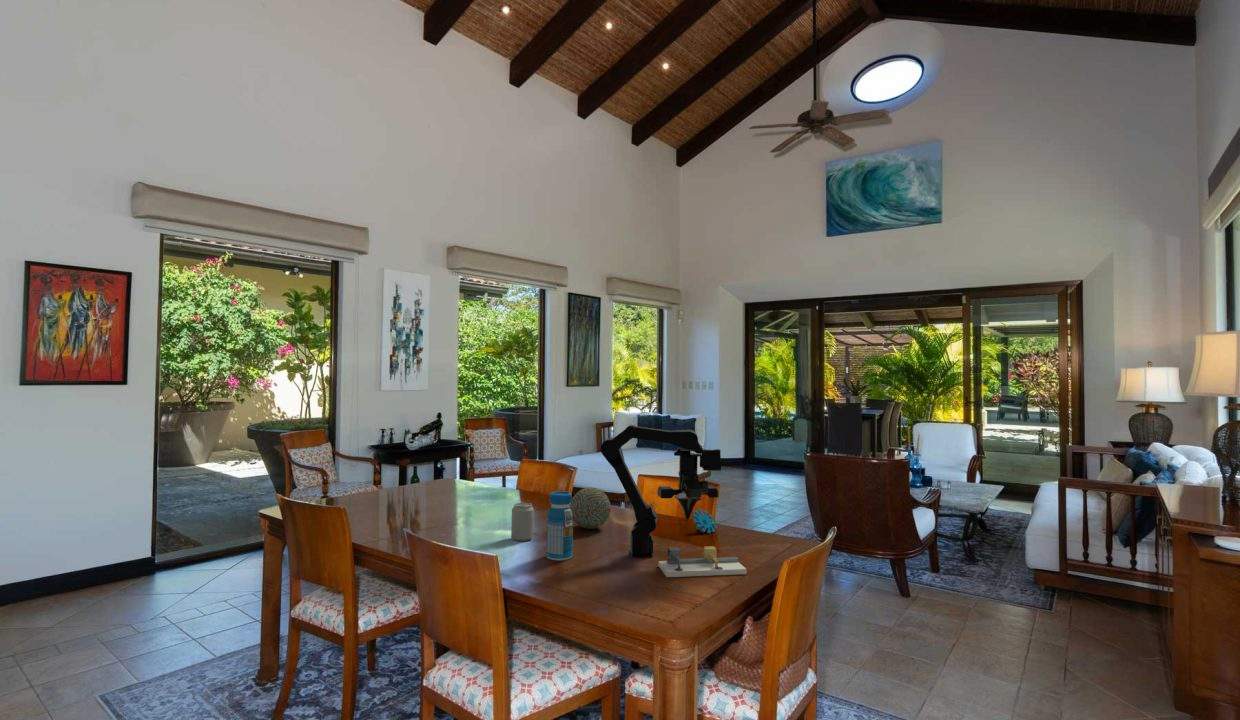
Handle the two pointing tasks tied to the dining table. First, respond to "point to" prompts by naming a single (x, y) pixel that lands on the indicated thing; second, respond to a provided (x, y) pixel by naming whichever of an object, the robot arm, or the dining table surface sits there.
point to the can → (522, 521)
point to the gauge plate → (701, 569)
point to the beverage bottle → (560, 527)
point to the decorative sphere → (590, 508)
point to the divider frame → (675, 558)
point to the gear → (704, 521)
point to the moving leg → (711, 554)
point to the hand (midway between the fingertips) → (687, 519)
